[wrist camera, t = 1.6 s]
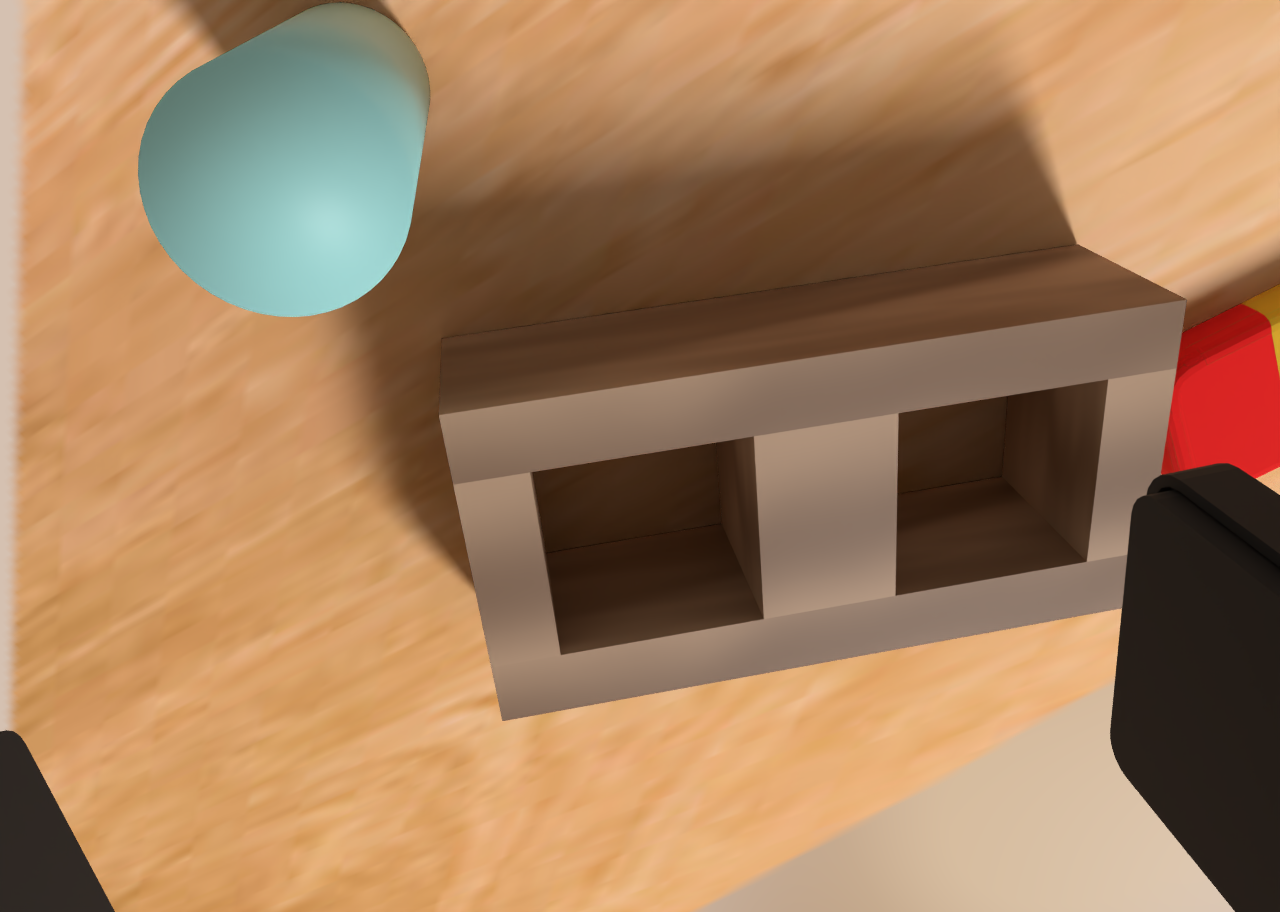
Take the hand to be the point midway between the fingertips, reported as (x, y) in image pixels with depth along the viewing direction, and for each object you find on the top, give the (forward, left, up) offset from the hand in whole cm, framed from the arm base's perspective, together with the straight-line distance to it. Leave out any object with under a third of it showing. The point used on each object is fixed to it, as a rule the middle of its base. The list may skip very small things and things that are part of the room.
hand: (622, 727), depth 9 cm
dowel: (-3, -3, -20) cm, 21 cm away
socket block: (+8, +7, -20) cm, 22 cm away
